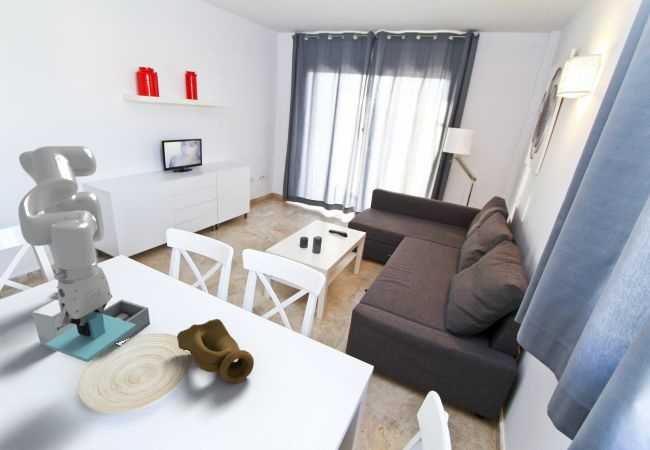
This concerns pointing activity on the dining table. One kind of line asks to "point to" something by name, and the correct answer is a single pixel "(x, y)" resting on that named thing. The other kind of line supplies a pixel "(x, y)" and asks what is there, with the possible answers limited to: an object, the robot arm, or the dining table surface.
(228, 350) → the brown looped sculpture
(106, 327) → the lid
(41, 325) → the supplement box
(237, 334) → the dining table surface
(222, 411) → the dining table surface
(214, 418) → the dining table surface
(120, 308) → the tub
